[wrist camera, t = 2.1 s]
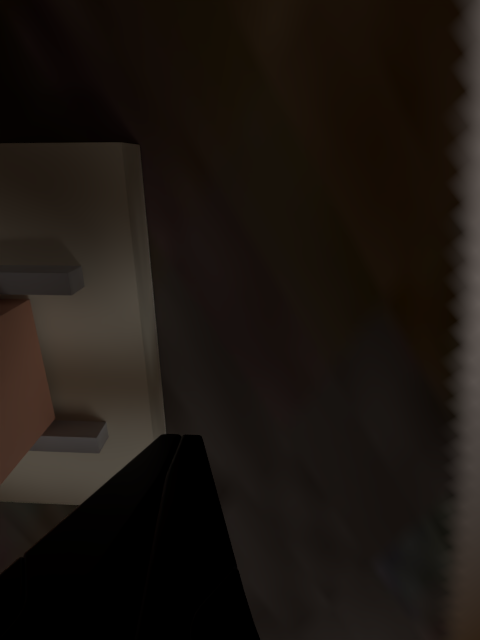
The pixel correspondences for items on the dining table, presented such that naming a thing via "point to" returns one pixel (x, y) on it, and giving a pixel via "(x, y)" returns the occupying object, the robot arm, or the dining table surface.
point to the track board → (82, 310)
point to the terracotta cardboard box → (20, 385)
